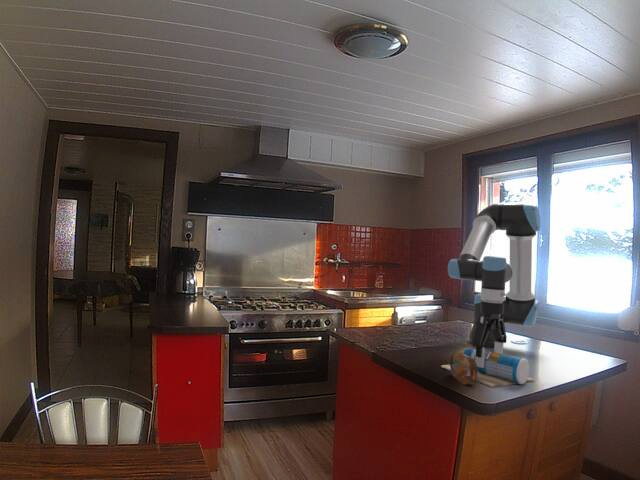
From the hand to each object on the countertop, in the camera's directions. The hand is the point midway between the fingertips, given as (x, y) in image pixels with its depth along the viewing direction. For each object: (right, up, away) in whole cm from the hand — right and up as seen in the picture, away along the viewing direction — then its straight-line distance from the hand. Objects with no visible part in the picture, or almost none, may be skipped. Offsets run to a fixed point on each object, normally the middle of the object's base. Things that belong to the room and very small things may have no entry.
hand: (488, 363), depth 144 cm
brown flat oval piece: (-12, -3, -8) cm, 15 cm away
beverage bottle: (+8, 0, -9) cm, 12 cm away
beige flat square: (-1, -4, +1) cm, 4 cm away
